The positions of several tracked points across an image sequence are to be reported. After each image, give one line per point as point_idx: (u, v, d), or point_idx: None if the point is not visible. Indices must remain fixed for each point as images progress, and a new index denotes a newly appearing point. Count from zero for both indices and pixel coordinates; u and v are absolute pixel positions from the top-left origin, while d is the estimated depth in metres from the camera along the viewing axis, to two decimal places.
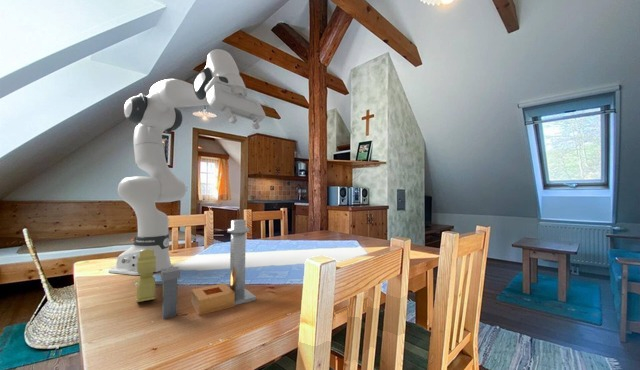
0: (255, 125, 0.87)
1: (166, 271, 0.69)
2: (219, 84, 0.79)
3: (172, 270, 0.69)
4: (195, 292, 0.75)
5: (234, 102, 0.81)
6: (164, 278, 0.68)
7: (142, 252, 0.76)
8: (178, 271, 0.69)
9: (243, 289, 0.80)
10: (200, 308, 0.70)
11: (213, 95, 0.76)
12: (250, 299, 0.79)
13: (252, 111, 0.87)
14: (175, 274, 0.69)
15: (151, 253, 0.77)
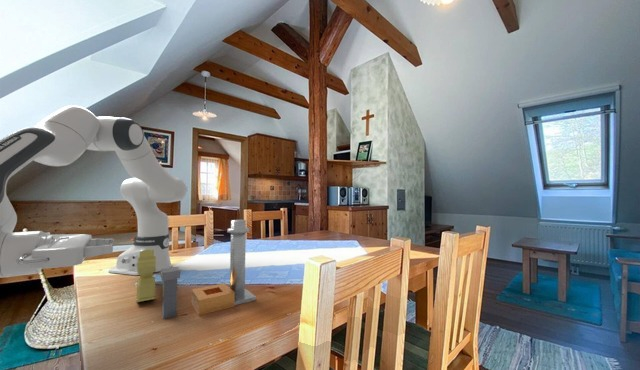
0: None
1: (166, 271, 0.69)
2: None
3: (172, 270, 0.69)
4: (195, 292, 0.75)
5: None
6: (164, 278, 0.68)
7: (142, 252, 0.76)
8: (178, 271, 0.69)
9: (243, 289, 0.80)
10: (200, 308, 0.70)
11: None
12: (250, 299, 0.79)
13: None
14: (175, 274, 0.69)
15: (151, 253, 0.77)
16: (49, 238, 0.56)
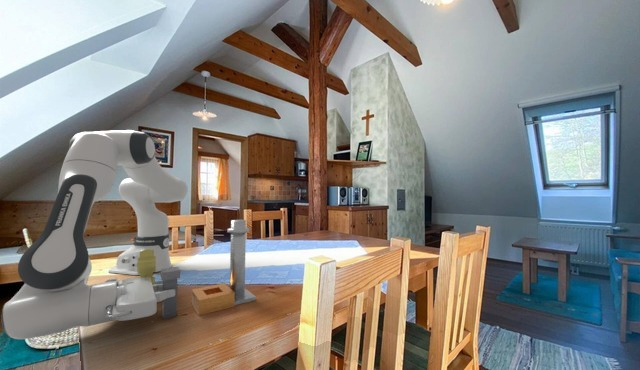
0: None
1: (166, 271, 0.69)
2: None
3: (172, 270, 0.69)
4: (195, 292, 0.75)
5: None
6: (164, 278, 0.68)
7: (142, 252, 0.76)
8: (178, 271, 0.69)
9: (243, 289, 0.80)
10: (200, 308, 0.70)
11: None
12: (250, 299, 0.79)
13: None
14: (175, 274, 0.69)
15: (151, 253, 0.77)
16: (124, 288, 0.63)
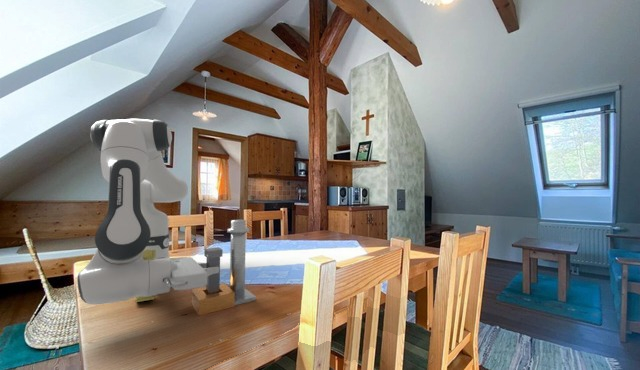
0: None
1: (210, 250, 0.75)
2: None
3: (215, 249, 0.76)
4: (195, 292, 0.75)
5: None
6: (209, 256, 0.74)
7: None
8: (221, 250, 0.76)
9: (243, 289, 0.80)
10: (200, 308, 0.70)
11: None
12: (250, 299, 0.79)
13: None
14: (218, 253, 0.76)
15: (150, 253, 0.77)
16: (175, 264, 0.70)
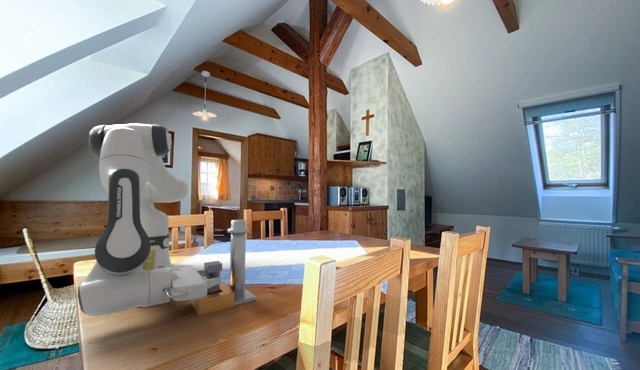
0: None
1: (210, 264, 0.75)
2: None
3: (215, 263, 0.76)
4: None
5: None
6: (209, 271, 0.74)
7: None
8: (220, 264, 0.76)
9: (243, 289, 0.80)
10: (200, 308, 0.70)
11: None
12: (250, 299, 0.79)
13: None
14: (218, 267, 0.76)
15: (150, 253, 0.77)
16: (175, 273, 0.70)
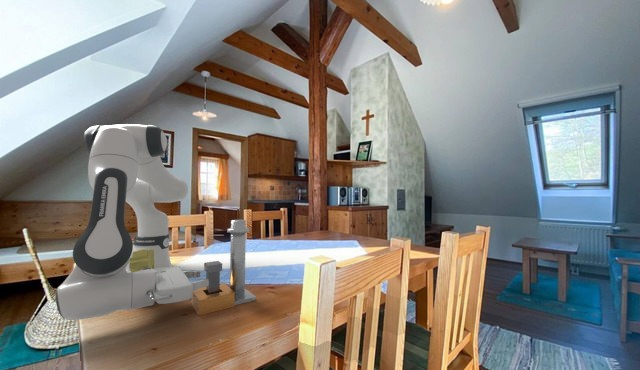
0: None
1: (210, 264, 0.75)
2: None
3: (215, 263, 0.76)
4: (195, 292, 0.75)
5: None
6: (209, 270, 0.74)
7: (134, 252, 0.75)
8: (221, 264, 0.76)
9: (243, 289, 0.80)
10: (200, 308, 0.70)
11: None
12: (250, 299, 0.79)
13: None
14: (218, 267, 0.76)
15: (143, 253, 0.76)
16: (160, 275, 0.68)
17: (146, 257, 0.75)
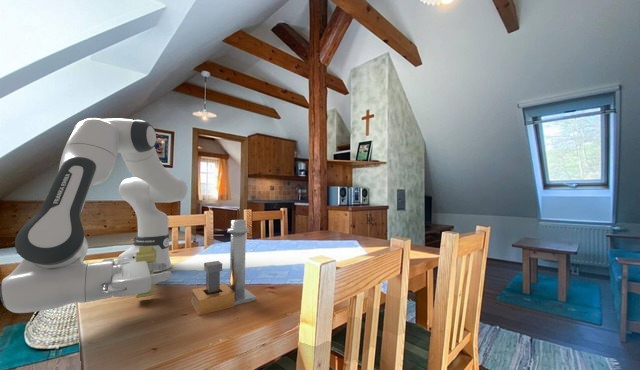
0: None
1: (210, 264, 0.75)
2: None
3: (215, 263, 0.76)
4: (195, 292, 0.75)
5: None
6: (209, 271, 0.74)
7: (141, 247, 0.77)
8: (221, 264, 0.76)
9: (243, 289, 0.80)
10: (200, 308, 0.70)
11: None
12: (250, 299, 0.79)
13: None
14: (218, 267, 0.76)
15: (150, 248, 0.77)
16: (119, 267, 0.65)
17: (152, 252, 0.76)
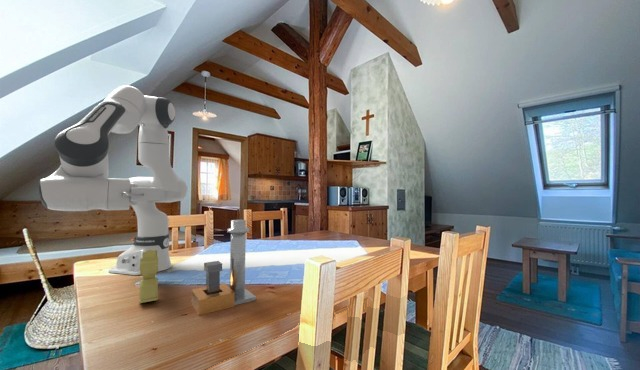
0: None
1: (210, 264, 0.75)
2: None
3: (215, 263, 0.76)
4: (195, 292, 0.75)
5: None
6: (209, 271, 0.74)
7: (144, 253, 0.75)
8: (221, 264, 0.76)
9: (243, 289, 0.80)
10: (200, 308, 0.70)
11: None
12: (250, 299, 0.79)
13: None
14: (218, 267, 0.76)
15: (153, 254, 0.76)
16: (136, 184, 0.74)
17: (156, 258, 0.75)
